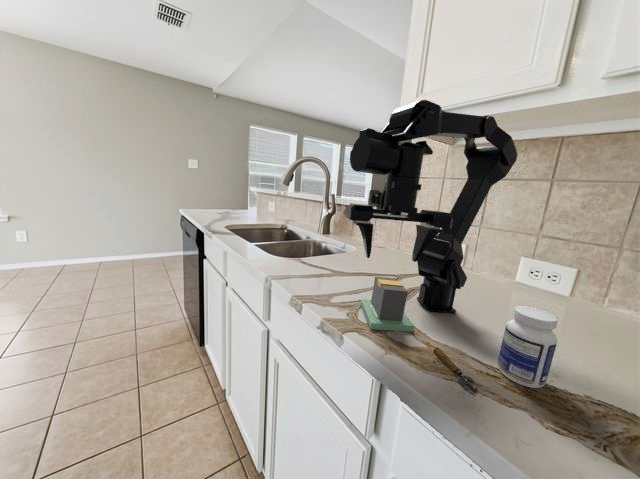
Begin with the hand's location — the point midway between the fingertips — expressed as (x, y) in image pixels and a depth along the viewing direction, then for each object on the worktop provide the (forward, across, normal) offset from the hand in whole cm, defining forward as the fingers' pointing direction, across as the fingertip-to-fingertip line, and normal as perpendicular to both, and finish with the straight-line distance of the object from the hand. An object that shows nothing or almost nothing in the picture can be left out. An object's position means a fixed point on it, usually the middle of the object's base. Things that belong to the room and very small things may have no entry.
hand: (391, 259), depth 50 cm
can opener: (+12, -6, +16) cm, 21 cm away
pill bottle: (+12, -16, +16) cm, 26 cm away
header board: (+12, 0, 0) cm, 12 cm away
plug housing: (+11, 0, 0) cm, 11 cm away
